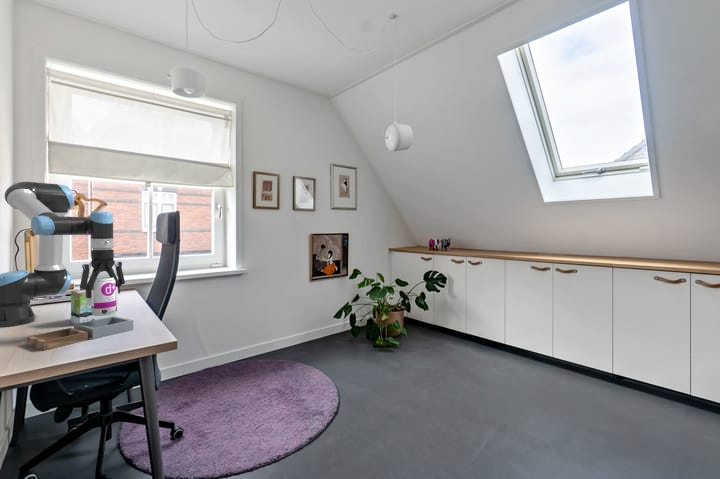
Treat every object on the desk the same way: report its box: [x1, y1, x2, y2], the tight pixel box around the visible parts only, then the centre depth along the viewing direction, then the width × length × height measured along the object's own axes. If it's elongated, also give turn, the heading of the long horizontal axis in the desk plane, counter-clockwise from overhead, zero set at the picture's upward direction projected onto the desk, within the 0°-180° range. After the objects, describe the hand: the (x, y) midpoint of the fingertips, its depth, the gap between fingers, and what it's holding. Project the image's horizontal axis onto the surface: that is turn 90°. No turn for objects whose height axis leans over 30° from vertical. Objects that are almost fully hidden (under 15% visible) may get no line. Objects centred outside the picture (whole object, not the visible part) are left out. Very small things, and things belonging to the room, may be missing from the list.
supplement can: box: [91, 276, 116, 316], centre depth 144 cm, size 8×8×15 cm
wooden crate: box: [26, 327, 89, 351], centre depth 131 cm, size 13×13×3 cm
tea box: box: [70, 289, 118, 325], centre depth 163 cm, size 15×10×15 cm, turn 148°
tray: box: [73, 316, 134, 340], centre depth 145 cm, size 15×15×4 cm
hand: (103, 303), depth 145 cm, fingers closed on supplement can, 8 cm apart
